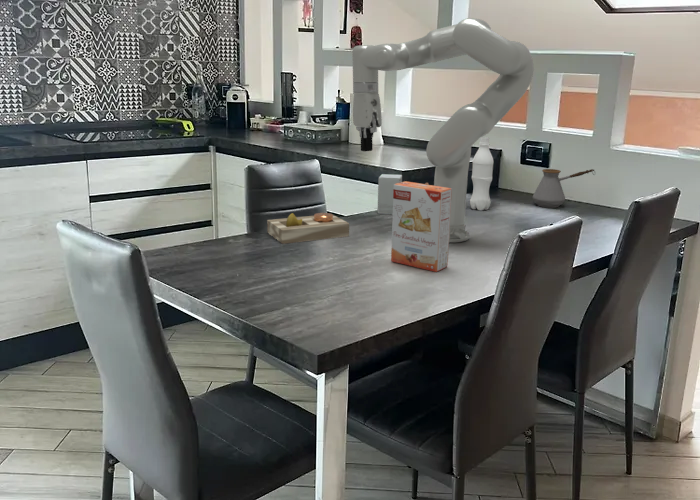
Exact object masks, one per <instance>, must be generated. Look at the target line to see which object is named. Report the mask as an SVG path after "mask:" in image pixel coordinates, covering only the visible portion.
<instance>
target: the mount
mask: <svg viewBox="0 0 700 500" xmlns="http://www.w3.org/2000/svg"><path fill="white" fill-rule="evenodd" d="M332 215H333V221H332V222H322V223H318V222H316V221H314V215H309V216H306V215H305V216H296V218H297V220H300V219H302V225H301V226H292V227H286V222H287V219H288V217H287V218H286V217H285V218H276V219H275V218H274V219H267V220H266V222H267V223H266V224H267V230H266V233H267V234H268V233H269V234H268V235H269V236H271V237H272V236H273V237H272V238H273V239H275V240H276V239H277V241H278V242H279V243H281V244H282V245H285V244H293V243H294V244H295V243H302V242H311V241H319V240H330V239H337V238H338V239H339V238H346V237H350V223H349V222H347V221H346V220H344V219H342V218H340V217H338V216H336V215H334V214H332Z"/></svg>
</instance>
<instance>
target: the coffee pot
mask: <svg viewBox="0 0 700 500" xmlns="http://www.w3.org/2000/svg"><path fill="white" fill-rule="evenodd" d="M541 171H542V172H543V174H542V175H543V176H542V178H541V180H540V182H539V183H538V186H537V187H536V190H535V191H534V193H533V195H532V200H533V201H534V203H535V204H536V205H537V206H539V207H542V208H551V209H552V208H553V209H554V208H558V207H560V205H562V204H563V203H565V201H566V196H565V193H564V190H563V187H562V183H561V181H564V180H567V179H570V178H576V177H579V176H583V175H585V174H589V173H592V175H593V176H595V173H596V171H595V169H593V168H591V169H589V170H588V169H586V170H584V171H579V172H576V173H573V174H571V175H567V176H563V177H560V176H559V175H560V173H561V170H560V169H554V168H544V169H542V170H541ZM559 177H560V178H559Z"/></svg>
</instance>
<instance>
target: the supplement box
mask: <svg viewBox="0 0 700 500" xmlns="http://www.w3.org/2000/svg"><path fill="white" fill-rule="evenodd" d="M377 182H378V183H377V184H378V185H377V187H378V188H377V213H376V214H379V215H392V216H393V189H394V184H397V183H401V182H403V175H402V174H385V173H382V174H381V175H380V176H378V181H377Z"/></svg>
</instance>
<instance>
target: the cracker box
mask: <svg viewBox="0 0 700 500" xmlns="http://www.w3.org/2000/svg"><path fill="white" fill-rule="evenodd" d="M433 185H434V184H428V185H426V184H425V183H419V182H413V181H402V182H401V183H397V184H394V189H393V215H392V217H391V218H392V220H391V221H392V224H391V225H392V226H391V228H392V229H391V249H390V250H391V253H390V254H391V255H390V257H391V258H390V261H391V263H392V262H393V263H396V264H401V265H404V266H405V265H406V266H409V267H414V268H417V269H423V270H427V271H431V272H434V273H437V272H440V271H441V270H443V269H446V268H447V267H448V265H449V264H448V262H449V247H450V242H449V232H450V214H451V196H452V189H451V188H446V187H439V186H433Z"/></svg>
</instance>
